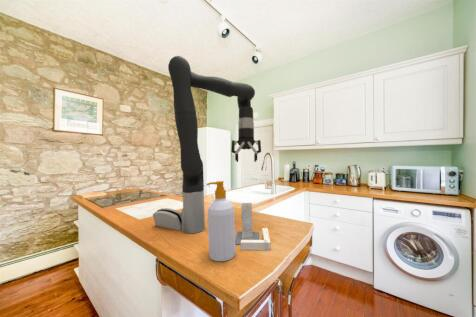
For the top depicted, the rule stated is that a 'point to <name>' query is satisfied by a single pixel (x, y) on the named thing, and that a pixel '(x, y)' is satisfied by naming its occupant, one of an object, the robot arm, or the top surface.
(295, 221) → the top surface
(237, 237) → the pad
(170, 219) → the grey rounded block
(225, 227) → the soap bottle
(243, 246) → the corner piece
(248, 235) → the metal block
